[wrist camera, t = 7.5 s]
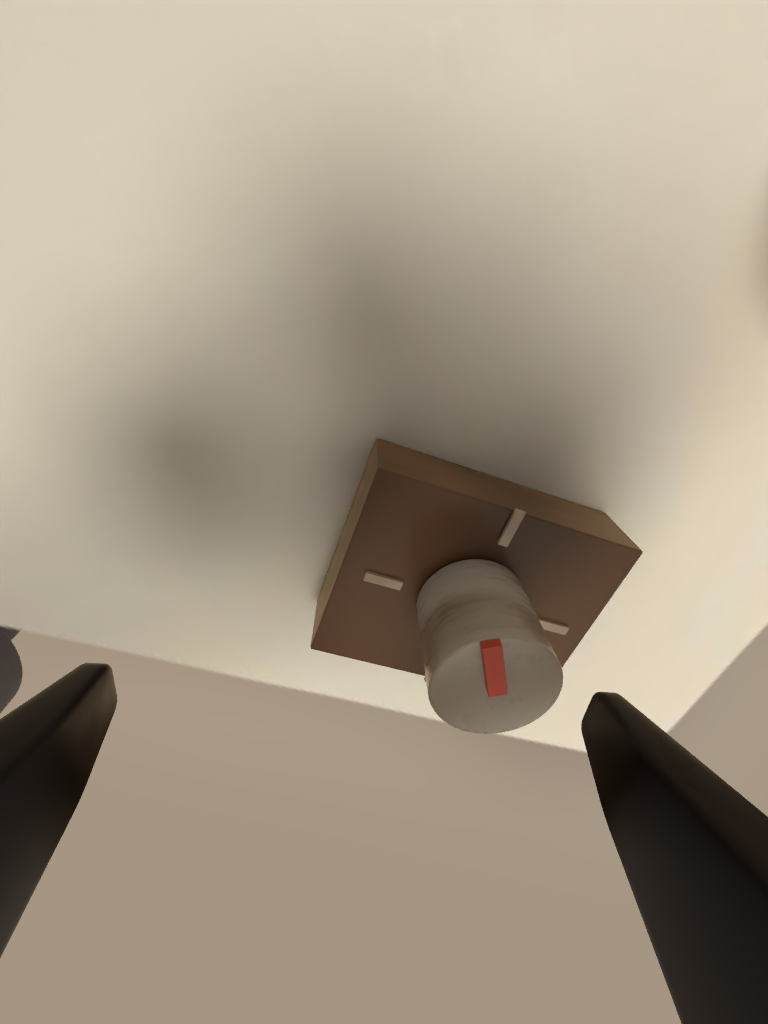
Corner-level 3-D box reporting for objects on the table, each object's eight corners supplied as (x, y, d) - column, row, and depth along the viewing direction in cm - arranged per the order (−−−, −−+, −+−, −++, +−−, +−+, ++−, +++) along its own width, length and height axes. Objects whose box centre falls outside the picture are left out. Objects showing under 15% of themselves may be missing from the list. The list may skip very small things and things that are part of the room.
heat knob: (526, 634, 18) (569, 731, 14) (425, 652, 19) (440, 752, 15) (520, 548, 16) (566, 633, 13) (407, 569, 17) (419, 658, 13)
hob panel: (316, 602, 21) (308, 654, 18) (377, 434, 18) (379, 466, 15) (516, 653, 23) (537, 708, 20) (607, 510, 19) (648, 551, 17)
